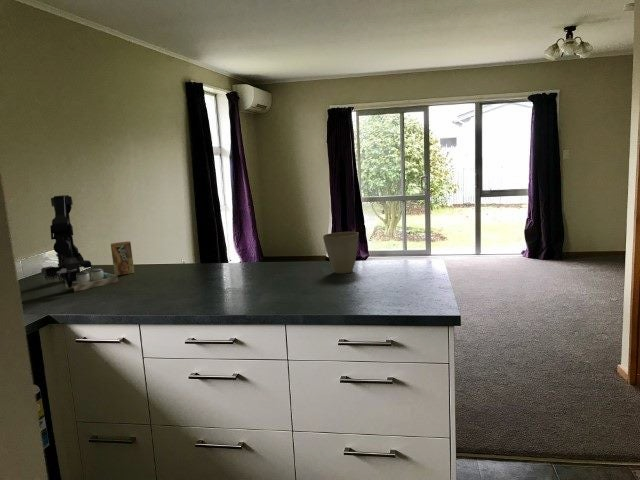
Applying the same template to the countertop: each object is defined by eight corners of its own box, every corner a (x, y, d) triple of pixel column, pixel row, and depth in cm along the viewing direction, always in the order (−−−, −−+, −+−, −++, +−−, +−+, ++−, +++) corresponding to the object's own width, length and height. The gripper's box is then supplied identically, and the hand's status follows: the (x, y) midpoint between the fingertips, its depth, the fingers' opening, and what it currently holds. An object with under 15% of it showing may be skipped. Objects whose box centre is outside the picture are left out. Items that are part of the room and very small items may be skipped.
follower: (108, 282, 230) (106, 274, 229) (101, 281, 234) (100, 272, 233) (110, 282, 231) (109, 273, 230) (104, 280, 235) (102, 272, 234)
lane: (75, 291, 218) (74, 284, 218) (66, 289, 224) (65, 282, 224) (118, 281, 232) (117, 275, 231) (108, 279, 238) (107, 273, 237)
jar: (75, 288, 225) (73, 273, 224) (87, 285, 229) (84, 270, 228) (82, 289, 222) (79, 274, 221) (93, 286, 226) (91, 271, 225)
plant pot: (362, 267, 224) (360, 230, 222) (359, 275, 210) (356, 236, 207) (328, 268, 227) (326, 232, 225) (322, 276, 213) (320, 237, 210)
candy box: (133, 271, 254) (129, 240, 252) (134, 273, 250) (130, 241, 248) (114, 274, 250) (110, 243, 248) (115, 275, 246) (110, 244, 244)
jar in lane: (90, 285, 230) (88, 270, 229) (101, 282, 234) (99, 268, 233) (95, 286, 226) (93, 271, 225) (106, 283, 230) (104, 269, 229)
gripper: (49, 256, 206) (54, 294, 208) (95, 248, 220) (100, 284, 222) (38, 254, 214) (43, 291, 216) (83, 247, 227) (88, 282, 229)
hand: (69, 287), depth 221 cm, fingers closed
